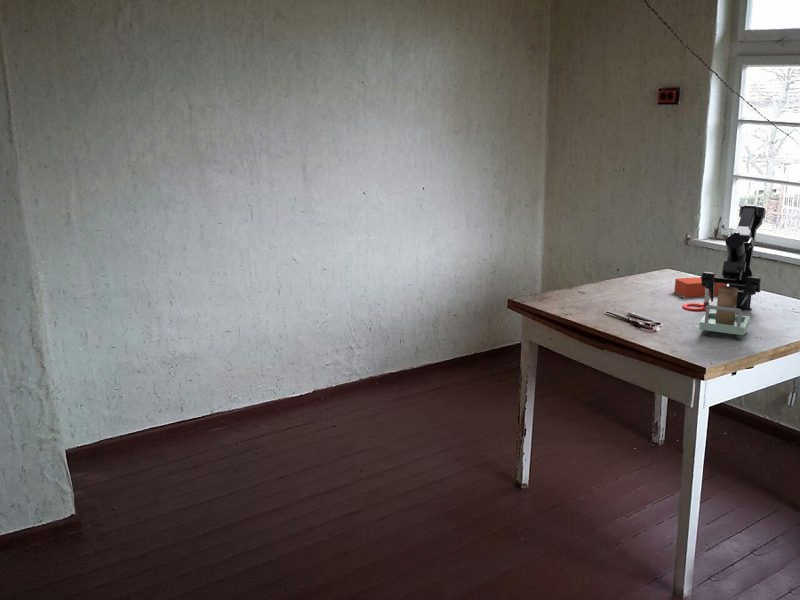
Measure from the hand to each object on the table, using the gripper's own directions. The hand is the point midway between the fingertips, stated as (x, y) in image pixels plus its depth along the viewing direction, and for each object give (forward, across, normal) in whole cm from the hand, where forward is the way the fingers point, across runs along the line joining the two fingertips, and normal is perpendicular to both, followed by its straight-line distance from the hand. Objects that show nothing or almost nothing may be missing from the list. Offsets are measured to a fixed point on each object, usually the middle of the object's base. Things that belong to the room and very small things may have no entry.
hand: (726, 303), depth 256 cm
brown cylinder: (+4, 0, +6) cm, 8 cm away
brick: (-27, -17, +44) cm, 55 cm away
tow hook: (-12, -14, +28) cm, 33 cm away
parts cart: (+7, 0, +9) cm, 11 cm away
